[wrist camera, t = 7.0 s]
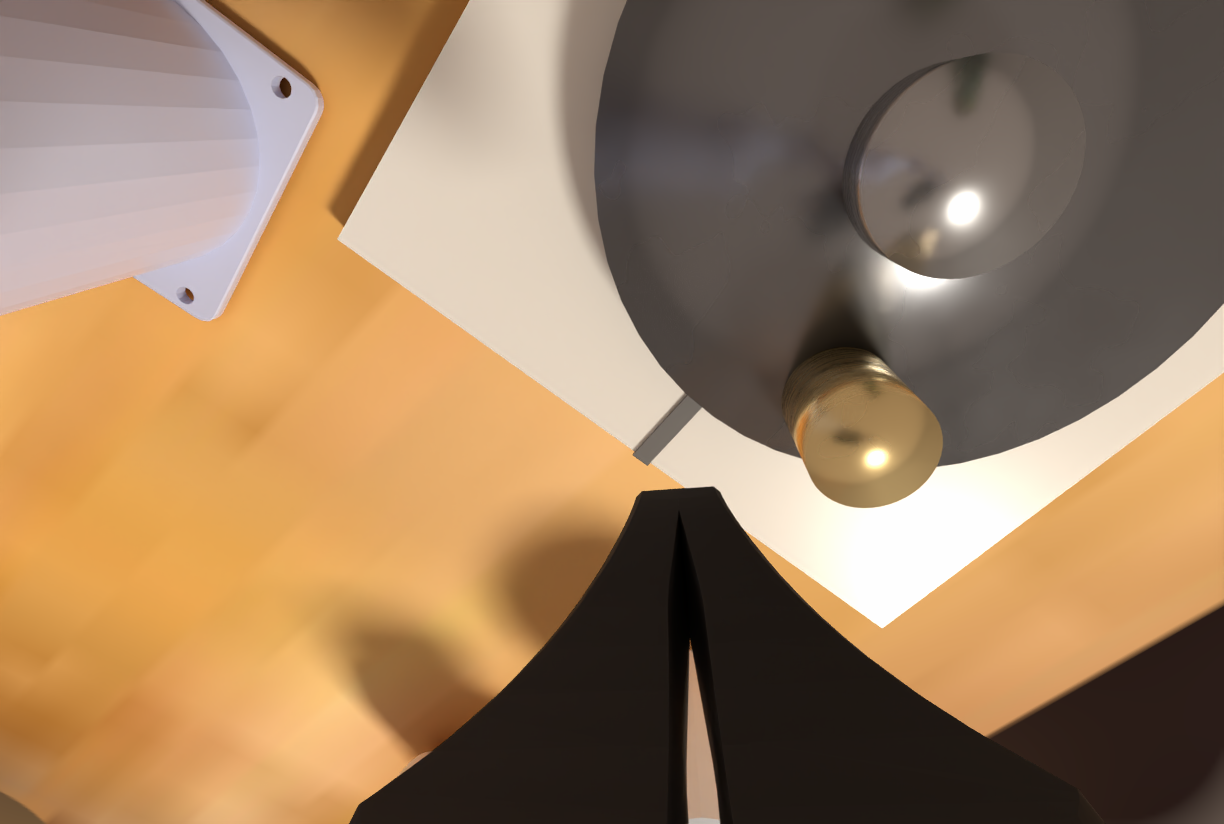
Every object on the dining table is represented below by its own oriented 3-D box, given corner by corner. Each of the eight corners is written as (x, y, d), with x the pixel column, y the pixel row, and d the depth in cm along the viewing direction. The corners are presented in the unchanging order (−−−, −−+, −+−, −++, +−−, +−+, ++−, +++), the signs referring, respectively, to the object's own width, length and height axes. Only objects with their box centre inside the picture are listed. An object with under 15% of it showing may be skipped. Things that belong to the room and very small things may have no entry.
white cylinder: (687, 609, 23) (700, 789, 17) (812, 699, 25) (867, 894, 19) (574, 702, 26) (549, 889, 20) (695, 779, 28) (707, 975, 21)
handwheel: (1048, 504, 19) (1146, 599, 15) (542, 376, 18) (513, 443, 15) (1480, -147, 12) (1847, -267, 9) (708, -394, 12) (735, -646, 8)
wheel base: (345, 235, 18) (325, 242, 17) (957, -861, 10) (993, -980, 9) (872, 613, 23) (883, 638, 22) (1577, 74, 15) (1649, 71, 14)
